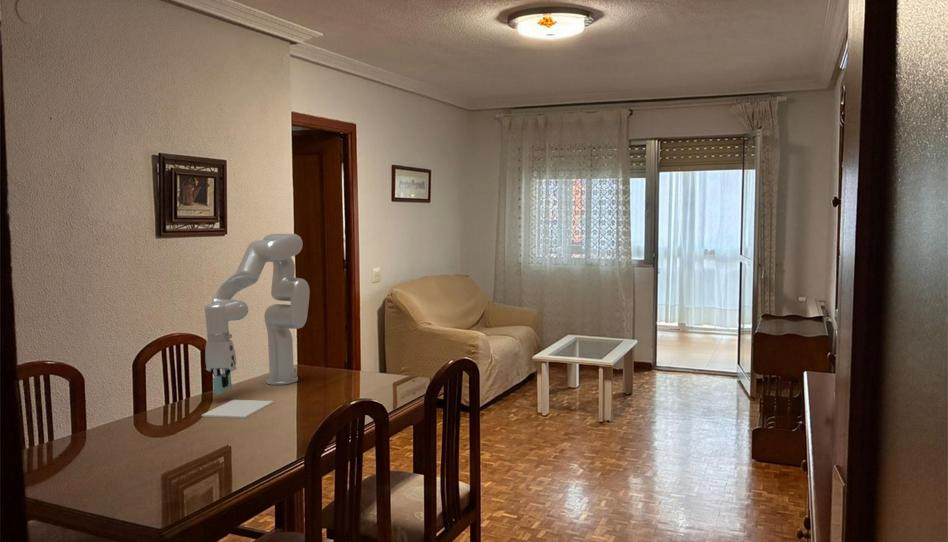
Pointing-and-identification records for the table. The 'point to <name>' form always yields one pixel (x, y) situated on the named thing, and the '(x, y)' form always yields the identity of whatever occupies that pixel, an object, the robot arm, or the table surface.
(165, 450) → the table surface
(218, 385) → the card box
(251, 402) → the mat
